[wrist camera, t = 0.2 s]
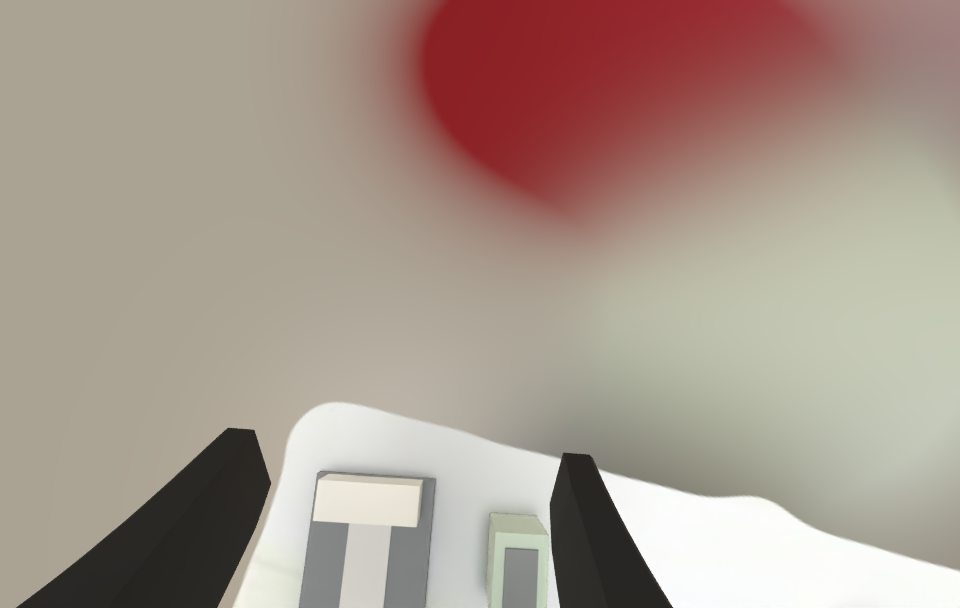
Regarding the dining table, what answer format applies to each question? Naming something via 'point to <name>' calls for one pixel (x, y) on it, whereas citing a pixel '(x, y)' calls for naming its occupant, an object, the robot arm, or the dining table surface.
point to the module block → (517, 562)
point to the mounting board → (368, 560)
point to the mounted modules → (368, 500)
